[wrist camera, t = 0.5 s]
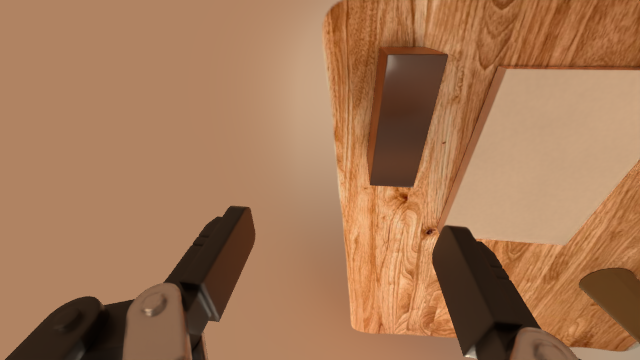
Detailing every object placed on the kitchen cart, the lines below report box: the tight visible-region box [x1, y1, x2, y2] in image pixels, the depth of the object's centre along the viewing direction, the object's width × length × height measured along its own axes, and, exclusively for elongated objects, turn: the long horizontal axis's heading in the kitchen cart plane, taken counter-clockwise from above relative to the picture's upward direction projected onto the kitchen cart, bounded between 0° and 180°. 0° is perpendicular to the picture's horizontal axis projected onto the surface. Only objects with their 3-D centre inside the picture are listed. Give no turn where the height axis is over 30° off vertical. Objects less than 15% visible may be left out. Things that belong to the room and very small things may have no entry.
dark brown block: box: [367, 47, 448, 188], centre depth 21 cm, size 11×4×6 cm, turn 1°
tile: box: [437, 66, 640, 245], centre depth 25 cm, size 20×15×2 cm
